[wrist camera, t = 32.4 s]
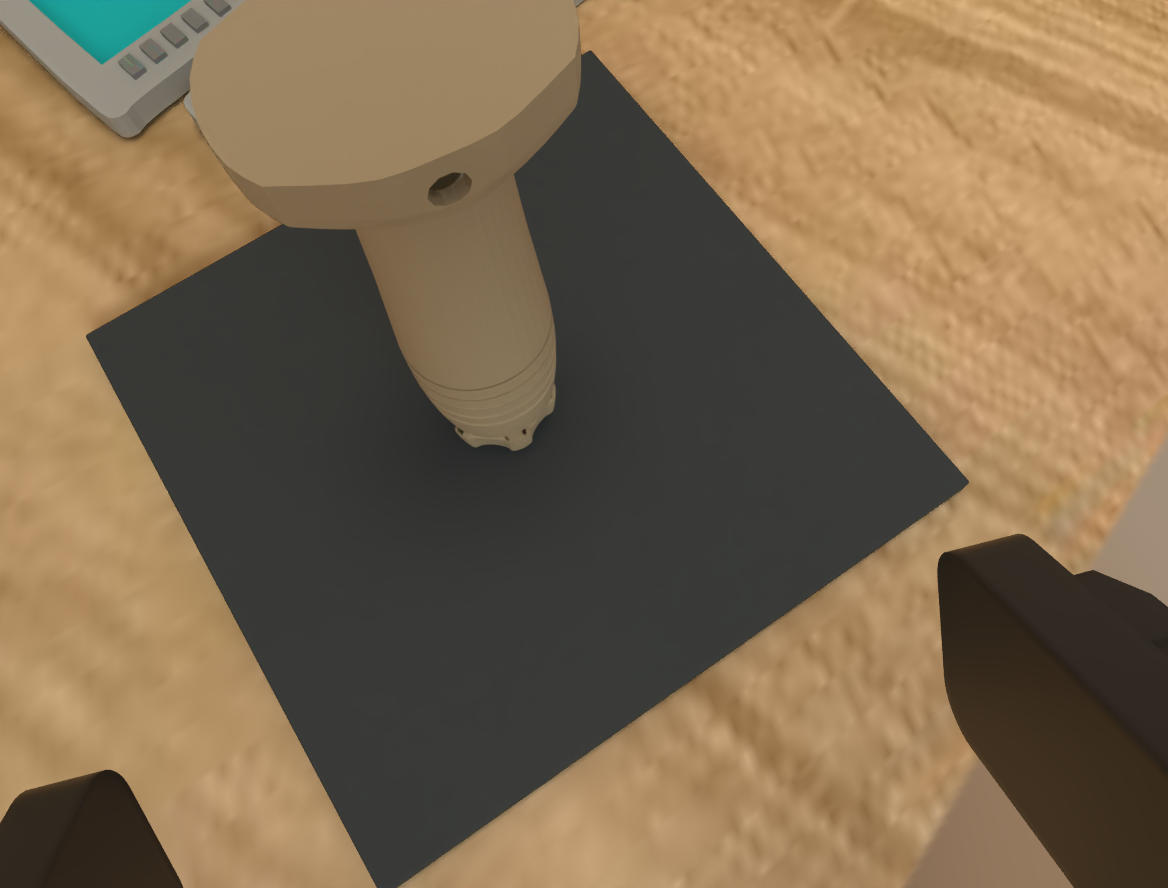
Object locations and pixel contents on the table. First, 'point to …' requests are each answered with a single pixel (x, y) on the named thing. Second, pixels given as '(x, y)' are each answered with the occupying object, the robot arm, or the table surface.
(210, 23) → the office telephone
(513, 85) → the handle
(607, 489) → the mat
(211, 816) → the table surface
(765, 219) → the table surface
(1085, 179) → the table surface
